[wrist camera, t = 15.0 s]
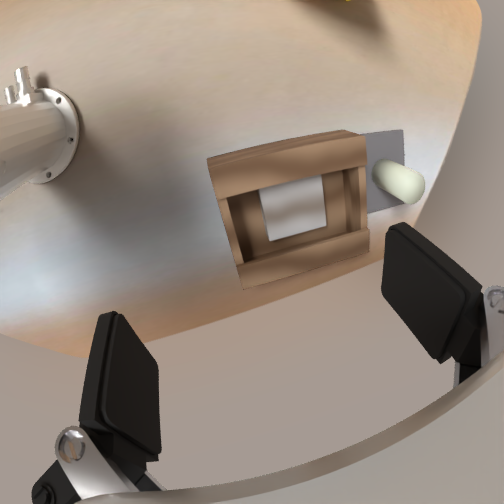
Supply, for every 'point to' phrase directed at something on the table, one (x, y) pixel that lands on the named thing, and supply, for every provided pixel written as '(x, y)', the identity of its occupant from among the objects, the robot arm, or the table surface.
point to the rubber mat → (379, 148)
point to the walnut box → (293, 204)
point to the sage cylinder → (398, 180)
